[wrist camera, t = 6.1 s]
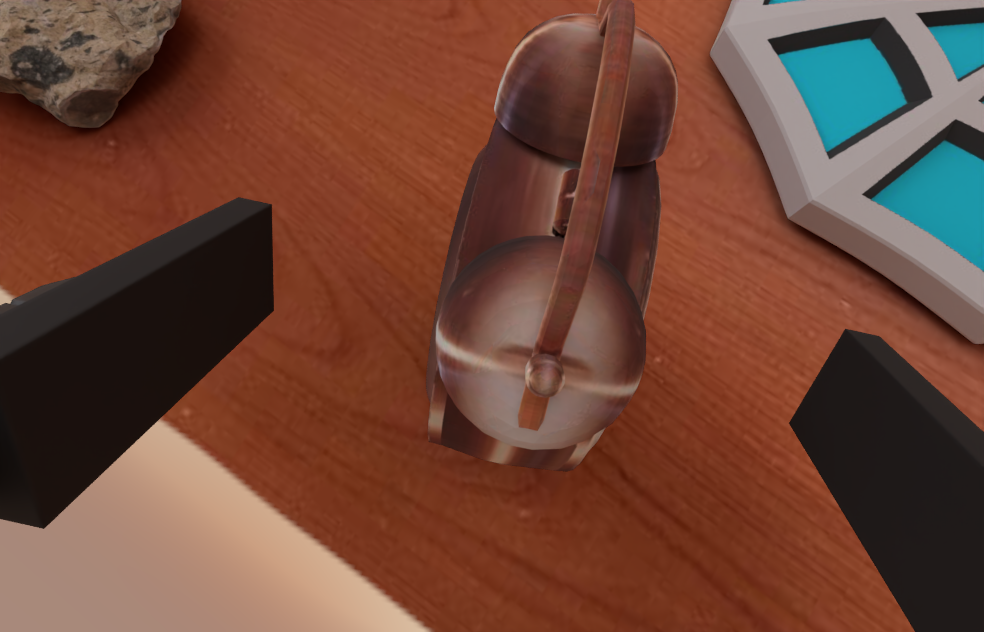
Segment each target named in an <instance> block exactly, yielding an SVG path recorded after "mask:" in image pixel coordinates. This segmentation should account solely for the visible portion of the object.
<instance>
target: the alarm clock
mask: <svg viewBox="0 0 984 632" xmlns="http://www.w3.org/2000/svg"><path fill="white" fill-rule="evenodd" d="M677 97H678V80H677V74H676V70H675V68H674V66H673V63H672V61H671V59H670V56H669V55H668V54H667V52H666V51H665V50H664V48H663V47H662V46H661V45H660V43H659V42H658V41H656V40H655V39H654V38H653V37H652V36H650V35H649V34H648V33H646V32H645V31H643V30H642V29H640V28H638V27H636V26H635V12H634V3H633V2H632V1H631V0H600V1H599V5H598V9H597V13H596V14H569V15H563V16H557V17H554V18H552V19H550V20H547V21H545V22H543V23H541V24H539V25H538V26H536V27H535V28H533V29H532V30H531V31H529V32H528V33H527V34H526V35H525V36H524V37H523V39H522V40H521V41H520V42H519V43H518V45H517V46H516V48H515V50H514V52H513V53H512V55H511V57H510V59H509V61H508V63H507V66H506V68H505V70H504V73H503V75H502V78H501V82H500V85H499V89H498V93H497V98H496V102H495V106H494V110H495V115H496V117H497V118H496V121H495V123H494V126H493V129H492V132H491V135H490V138H489V142H488V144H487V145H486V146H485V147H484V148H483V149H482V150H481V152H480V153H479V154H478V156H477V158H476V160H475V162H474V164H473V167H472V169H471V172H470V175H469V178H468V181H467V184H466V187H465V190H464V193H463V197H462V200H461V204H460V207H459V211H458V215H457V218H456V222H455V226H454V230H453V234H452V238H451V242H450V246H449V250H448V255H447V259H446V264H445V268H444V273H443V277H442V282H441V287H440V292H439V296H438V301H437V307H436V312H435V318H434V324H433V329H432V335H431V341H430V349H429V356H428V365H427V377H426V389H427V395H428V398H429V401H430V413H429V422H428V439H429V442H432V443H436V444H439V445H443V446H446V447H449V448H452V449H454V450H457V451H460V452H463V453H466V454H468V455H471V456H474V457H477V458H480V459H482V460H486V461H491V462H495V463H500V464H505V465H513V466H521V467H530V468H538V469H547V470H556V471H570V470H573V469H574V468H575V467H576V466H578V465H579V464H580V463H581V461H582V460H583V458H584V457H585V455H586V454H587V452H588V451H589V450H590V449H591V448H592V447H593V446H594V445H595V444H596V442H597V441H598V439H599V438H600V436H601V434H602V433H603V431H604V429H605V428H606V427H608V426H609V425H611V424H612V423H613V422H614V421H615V419H616V418H617V417H618V416H619V414H620V413H621V412H622V411H623V409H624V408H625V407H626V405H627V404H628V403H629V401H630V400H631V398H632V396H633V394H634V393H635V391H636V389H637V387H638V384H639V382H640V379H641V376H642V373H643V369H644V365H645V357H646V330H645V325H644V316H645V312H646V308H647V304H648V300H649V295H650V290H651V284H652V278H653V273H654V267H655V261H656V255H657V250H658V239H659V228H660V216H661V195H660V181H659V176H658V173H657V170H656V162H655V159H657V158H659V157H660V156H661V155H662V154H663V152H664V151H665V149H666V146H667V143H668V140H669V137H670V134H671V131H672V126H673V121H674V116H675V112H676V107H677Z"/></svg>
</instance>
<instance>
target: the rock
mask: <svg viewBox="0 0 984 632" xmlns="http://www.w3.org/2000/svg"><path fill="white" fill-rule="evenodd" d="M180 10H181V0H0V92H5V93H18V94H22V95H24V96H25V97H26V98H27V99H28V100H29V101H30V102H32V103H34V104H36V105H39V106H41V107H42V108H44V109H45V110H47V111H48V112H50V113H51V114H52V115H54V116H55V117H56V118H57V119H58V120H60V121H61V122H64V123H65V124H67V125H68V126H76V127H83V128H95V127H100V126H101V125H103V124H104V123H105V122H107V121H108V120H109V119H111V117H112V116H113V114H114V112H115V110H116V108H117V106H118V101H119V100H120V99H121V98H122V97H123V96H124V95H125V94H126V93H127V92H128V91H129V90H130V89H131V88H132V86H133V85H134V83H135V82H136V80H137V78H138V77H139V76H140V75H142V74H143V73H144V72H145V71H147V70H148V69H149V68H150V66H151V65H152V63H153V61H154V55H155V54H156V53H157V52H158V51H159V49H160V46H161V44H162V40H163V36H164V35H165V33H166V32H167V31H168V30H170V29H172V27H173V26H174V25H175V22H176V19H177V18H178V17H179V13H180Z"/></svg>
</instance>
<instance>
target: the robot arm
mask: <svg viewBox="0 0 984 632" xmlns="http://www.w3.org/2000/svg"><path fill="white" fill-rule="evenodd" d="M273 311H274V295H273V246H272V204H267V203H262V202H258V201H253V200H249V199H244V198H239V197H238V198H236V199H234V200H232V201H230V202H228V203H226V204H224V205H222V206H220V207H218V208H216V209H214V210H212V211H210V212H208V213H206V214H204V215H202V216H200V217H197V218H195V219H193V220H191V221H189V222H187V223H185V224H183V225H181V226H179V227H177V228H175V229H173V230H171V231H169V232H167V233H165V234H163V235H161V236H159V237H157V238H155V239H153V240H151V241H149V242H147V243H144V244H142V245H140V246H138V247H136V248H134V249H132V250H130V251H128V252H126V253H124V254H122V255H120V256H118V257H116V258H114V259H112V260H110V261H108V262H106V263H104V264H102V265H100V266H98V267H96V268H94V269H91V270H89V271H87V272H85V273H83V274H81V275H79V276H77V277H73V278H70V279H66V280H62V281H58V282H54V283H50V284H47V285H43V286H40V287H38V288H36V289H34V290H32V291H30V292H28V293H26V294H23V295H21V296H19V297H17V298H15V299H13V300H12V302H11V304H8V303H5V304H2V305H0V519H3V520H8V521H12V522H17V523H21V524H25V525H30V526H34V527H39V528H43V529H44V528H45V527H46V526H47V525H48V524H50V523H51V522H52V521H53V520H54V519H55V518H56V517H57V516H58V515H59V514H60V513H61V512H62V511H63V510H64V509H65V508H66V507H67V506H68V505H69V504H71V502H73V501H74V500H75V499H76V498H77V497H78V496H79V495H80V494H81V493H82V492H83V491H84V490H85V489H86V488H87V487H88V486H89V485H90V484H91V483H93V482H94V481H95V480H96V479H97V478H98V477H99V476H100V475H101V474H102V473H103V472H104V471H105V470H106V469H107V468H108V467H109V466H111V464H113V462H115V461H116V460H117V459H118V458H119V457H120V456H121V455H122V454H123V453H124V452H125V451H126V450H127V449H128V448H130V446H131V445H133V444H134V443H135V442H136V441H137V440H138V439H139V438H140V437H141V436H142V435H143V434H144V433H145V432H146V431H147V430H148V429H150V427H152V425H154V424H155V423H156V422H157V421H158V420H159V419H160V418H161V417H162V416H163V415H164V414H165V413H166V412H167V411H168V410H170V409H171V408H172V407H173V406H174V405H175V404H176V403H177V402H178V401H179V400H180V399H181V398H182V397H183V396H184V395H185V394H186V393H187V392H188V391H190V390H191V389H192V388H193V387H194V386H195V385H196V384H197V383H198V382H199V381H200V380H201V379H202V378H203V377H204V376H205V375H206V374H207V373H208V372H210V371H211V370H212V369H213V368H214V367H215V366H216V365H217V364H218V363H219V362H220V361H221V360H222V359H223V358H224V357H225V356H226V355H227V354H228V353H230V352H231V351H232V350H233V349H234V348H235V347H236V346H237V345H238V344H239V343H240V342H241V341H242V340H243V339H244V338H245V337H246V336H247V335H248V334H250V333H251V332H252V331H253V330H254V329H255V328H256V327H257V326H258V325H259V324H260V323H261V322H262V321H263V320H264V319H265V318H266V317H267V316H268V315H270V314H271V313H272V312H273ZM789 424H790V426H791V427H792V429H793V431H794V432H795V434H796V436H797V437H798V439H799V441H800V442H801V444H802V446H803V447H804V449H805V451H806V452H807V454H808V456H809V457H810V459H811V460H812V462H813V464H814V465H815V467H816V469H817V470H818V472H819V474H820V475H821V477H822V479H823V480H824V482H825V484H826V485H827V487H828V489H829V490H830V492H831V493H832V495H833V497H834V498H835V500H836V502H837V503H838V505H839V507H840V508H841V510H842V512H843V513H844V515H845V517H846V518H847V520H848V522H849V523H850V525H851V527H852V528H853V530H854V531H855V533H856V535H857V536H858V538H859V540H860V541H861V543H862V545H863V546H864V548H865V550H866V551H867V553H868V555H869V556H870V558H871V560H872V561H873V563H874V564H875V566H876V568H877V569H878V571H879V573H880V574H881V576H882V578H883V579H884V581H885V583H886V584H887V586H888V588H889V589H890V591H891V593H892V594H893V596H894V598H895V599H896V601H897V602H898V604H899V606H900V607H901V609H902V611H903V612H904V614H905V616H906V617H907V619H908V621H909V622H910V624H911V626H912V627H913V629H914V631H915V632H984V432H983V431H982V430H981V429H980V428H979V427H977V426H976V425H975V424H974V423H973V422H972V421H971V420H970V419H969V418H968V417H967V416H966V415H964V414H963V413H962V412H961V411H960V410H959V409H958V408H957V407H956V406H955V405H954V404H952V403H951V402H950V401H949V400H948V399H947V398H946V397H945V396H944V395H943V394H942V393H940V392H939V391H938V390H937V389H936V388H935V387H934V386H933V385H932V384H931V383H930V382H928V381H927V380H926V379H925V378H924V377H923V376H922V375H921V374H920V373H919V372H918V371H916V370H915V369H914V368H913V367H912V366H911V365H910V364H909V363H908V362H907V361H906V360H905V359H903V358H902V357H901V356H900V355H899V354H898V353H897V352H896V351H895V350H894V349H893V348H891V347H890V346H889V345H888V344H887V343H886V342H885V341H884V340H883V339H882V338H881V337H879V336H876V335H871V334H866V333H862V332H857V331H853V330H848V329H845V330H844V332H843V334H842V335H841V337H840V339H839V340H838V342H837V344H836V345H835V347H834V349H833V350H832V352H831V354H830V355H829V357H828V359H827V360H826V362H825V364H824V365H823V367H822V369H821V370H820V372H819V374H818V376H817V377H816V379H815V381H814V382H813V384H812V386H811V387H810V389H809V391H808V392H807V394H806V396H805V397H804V399H803V401H802V402H801V404H800V406H799V407H798V409H797V411H796V412H795V414H794V416H793V417H792V419H791V421H790V422H789Z"/></svg>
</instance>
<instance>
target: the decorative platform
mask: <svg viewBox="0 0 984 632" xmlns="http://www.w3.org/2000/svg"><path fill="white" fill-rule="evenodd" d="M710 56H711V58H712V60H713V61H714V63H715V65H716V66H717V68H718V69H719V71H720V73H721V74H722V76H723V78H724V79H725V81H726V83H727V84H728V86H729V88H730V89H731V91H732V93H733V95H734V96H735V98H736V100H737V102H738V104H739V105H740V107H741V109H742V111H743V113H744V114H745V116H746V118H747V120H748V122H749V124H750V126H751V128H752V130H753V132H754V134H755V137H756V139H757V141H758V143H759V145H760V148H761V150H762V152H763V155H764V157H765V159H766V162H767V164H768V167H769V169H770V172H771V174H772V177H773V180H774V182H775V185H776V188H777V190H778V193H779V196H780V198H781V201H782V204H783V207H784V210H785V212H786V215H787V218H788V219H789V220H791V221H793V222H795V223H796V224H798V225H800V226H802V227H804V228H805V229H807V230H809V231H811V232H813V233H814V234H816V235H818V236H820V237H821V238H823V239H825V240H827V241H828V242H830V243H832V244H834V245H835V246H837V247H839V248H840V249H842V250H844V251H845V252H847V253H849V254H851V255H852V256H854V257H856V258H857V259H859V260H860V261H862V262H864V263H865V264H867V265H868V266H870V267H871V268H873V269H874V270H876V271H878V272H879V273H881V274H882V275H884V276H885V277H886V278H888V279H889V280H891V281H892V282H894V283H895V284H896V285H898V286H899V287H901V288H902V289H904V290H905V291H906V292H908V293H909V294H910V295H912V296H913V297H914V298H916V299H917V300H918V301H920V302H921V303H922V304H924V305H925V306H926V307H928V308H929V309H930V310H931V311H933V312H934V313H935V314H937V315H938V316H939V317H940V318H942V319H943V320H944V321H946V322H947V323H948V324H949V325H951V326H952V327H953V328H954V329H956V330H957V331H958V332H959V333H961V334H962V335H963V336H964V337H966V338H967V339H968V340H969V341H971V342H972V343H974V344H984V0H732V1H731V4H730V7H729V9H728V12H727V15H726V17H725V20H724V22H723V24H722V27H721V29H720V31H719V34H718V36H717V38H716V40H715V43H714V45H713V47H712V49H711V51H710Z"/></svg>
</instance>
